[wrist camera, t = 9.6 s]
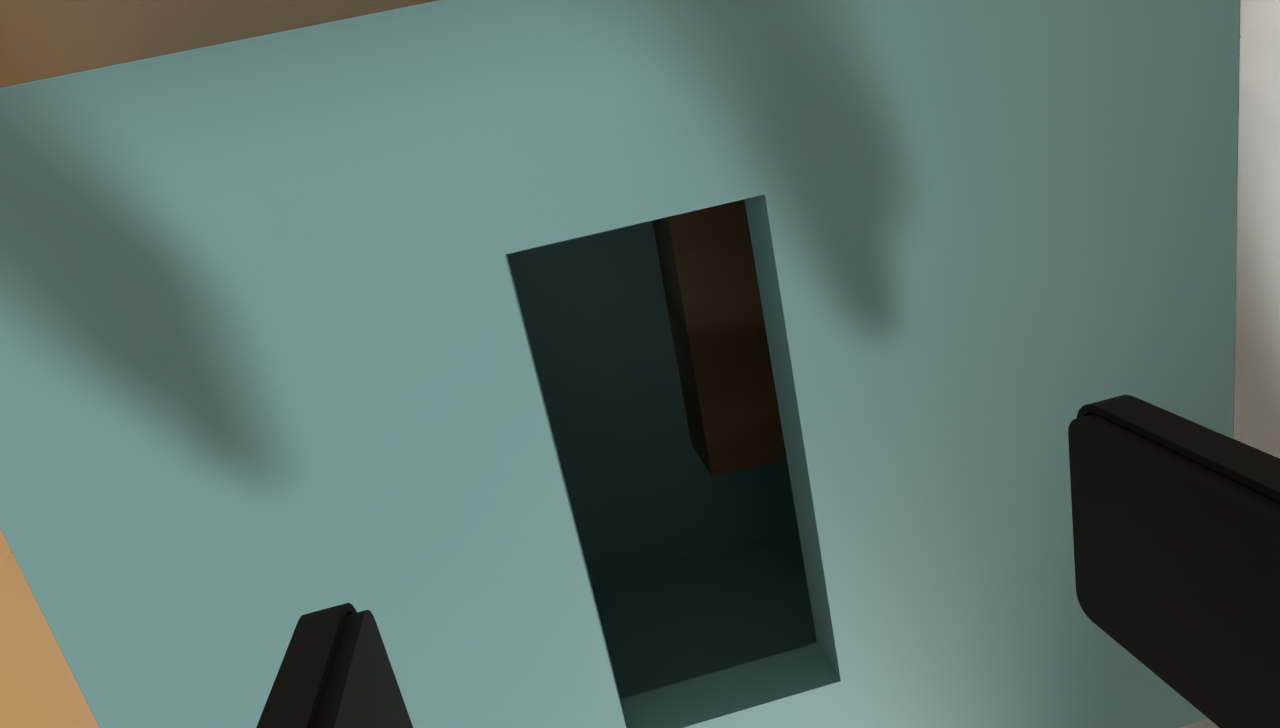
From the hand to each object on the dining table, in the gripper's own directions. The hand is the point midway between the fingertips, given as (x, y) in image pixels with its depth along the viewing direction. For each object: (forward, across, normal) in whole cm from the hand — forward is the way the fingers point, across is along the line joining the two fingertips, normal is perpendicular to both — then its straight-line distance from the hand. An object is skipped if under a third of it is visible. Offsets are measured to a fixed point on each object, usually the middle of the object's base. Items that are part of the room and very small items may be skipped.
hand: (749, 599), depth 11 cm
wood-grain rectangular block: (+11, -5, -4) cm, 13 cm away
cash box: (+13, 0, 0) cm, 13 cm away
